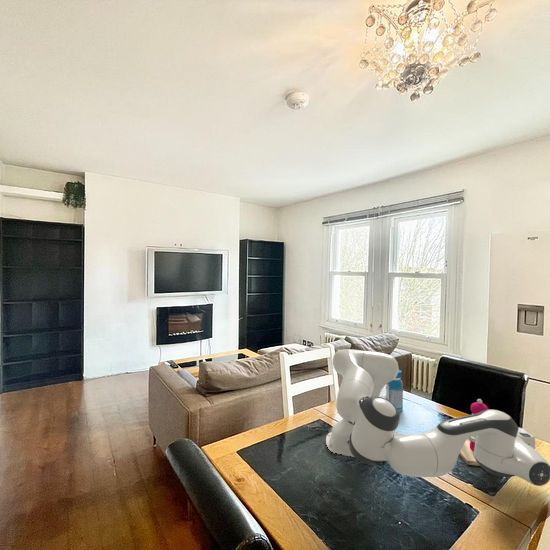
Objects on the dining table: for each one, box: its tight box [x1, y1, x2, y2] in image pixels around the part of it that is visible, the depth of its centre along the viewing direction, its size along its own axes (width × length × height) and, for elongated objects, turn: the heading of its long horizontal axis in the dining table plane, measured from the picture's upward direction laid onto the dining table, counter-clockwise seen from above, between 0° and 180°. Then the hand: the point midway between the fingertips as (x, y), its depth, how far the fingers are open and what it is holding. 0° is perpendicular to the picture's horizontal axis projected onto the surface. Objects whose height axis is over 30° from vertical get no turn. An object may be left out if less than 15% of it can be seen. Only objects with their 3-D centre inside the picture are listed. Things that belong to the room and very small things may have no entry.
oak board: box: [459, 438, 481, 467], centre depth 119 cm, size 16×16×2 cm
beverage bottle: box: [385, 369, 404, 412], centre depth 157 cm, size 8×8×20 cm
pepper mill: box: [469, 398, 489, 451], centre depth 118 cm, size 7×7×20 cm
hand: (484, 423), depth 116 cm, fingers open, 8 cm apart
